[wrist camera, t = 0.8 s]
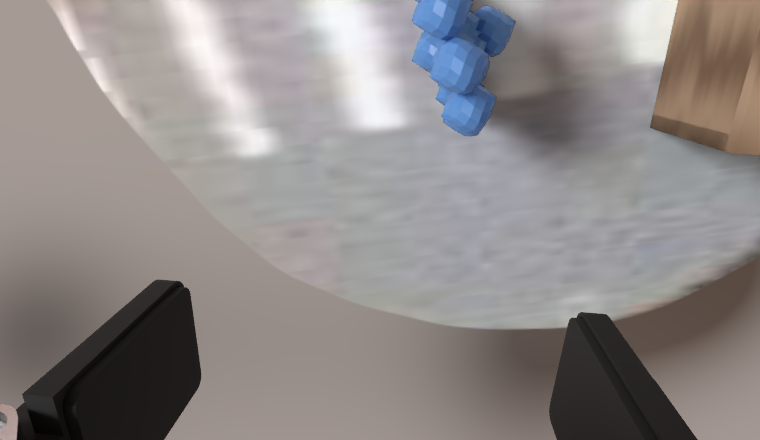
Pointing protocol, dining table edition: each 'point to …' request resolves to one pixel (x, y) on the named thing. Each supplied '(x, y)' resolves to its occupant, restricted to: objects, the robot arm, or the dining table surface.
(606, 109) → the dining table surface
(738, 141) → the open wooden box
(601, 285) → the dining table surface
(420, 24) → the grapes
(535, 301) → the dining table surface
